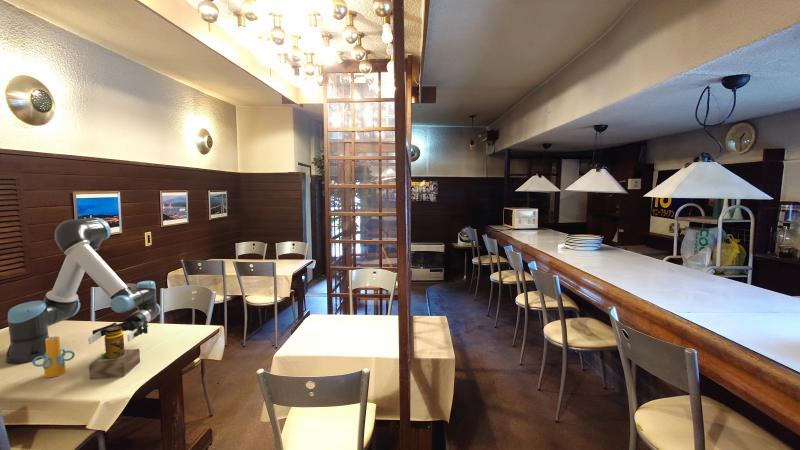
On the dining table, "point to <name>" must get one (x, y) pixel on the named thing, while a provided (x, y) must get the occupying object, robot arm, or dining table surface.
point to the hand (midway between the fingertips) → (109, 339)
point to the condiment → (113, 344)
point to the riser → (115, 365)
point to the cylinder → (53, 358)
